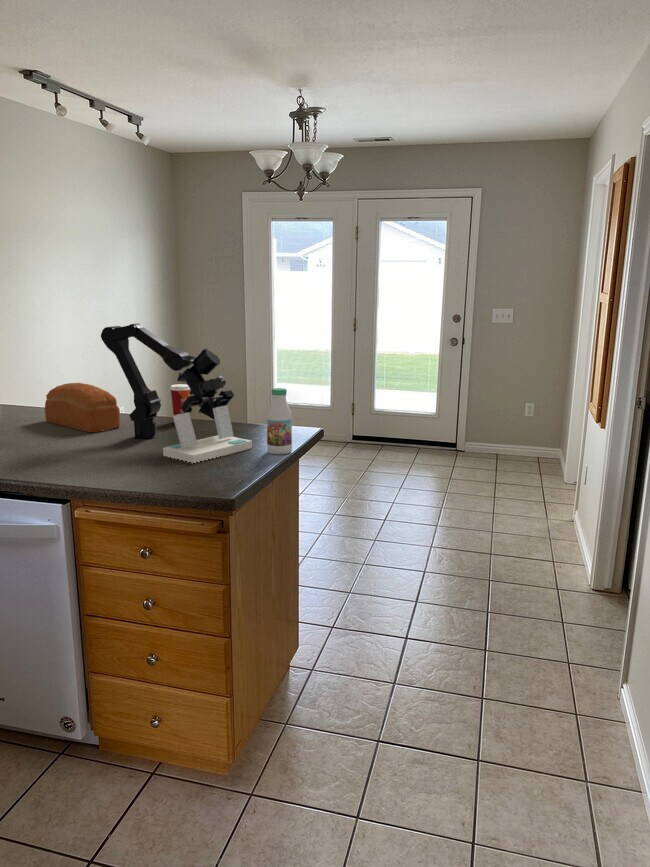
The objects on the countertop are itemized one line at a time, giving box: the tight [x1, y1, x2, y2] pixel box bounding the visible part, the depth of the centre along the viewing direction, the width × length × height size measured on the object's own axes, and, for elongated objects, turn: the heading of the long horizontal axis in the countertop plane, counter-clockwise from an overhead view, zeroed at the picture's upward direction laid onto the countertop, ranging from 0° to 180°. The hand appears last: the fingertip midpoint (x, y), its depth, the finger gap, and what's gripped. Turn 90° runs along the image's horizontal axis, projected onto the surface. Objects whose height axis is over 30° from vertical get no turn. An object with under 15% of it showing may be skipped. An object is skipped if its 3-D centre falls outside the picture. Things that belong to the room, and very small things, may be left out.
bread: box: [44, 382, 121, 433], centre depth 241 cm, size 14×33×16 cm, turn 51°
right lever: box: [213, 404, 235, 439], centre depth 208 cm, size 2×5×10 cm, turn 141°
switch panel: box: [162, 434, 253, 464], centre depth 204 cm, size 14×24×3 cm, turn 141°
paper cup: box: [169, 383, 191, 416], centre depth 246 cm, size 8×8×14 cm
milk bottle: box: [266, 387, 293, 456], centre depth 202 cm, size 8×8×20 cm
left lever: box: [172, 413, 198, 448], centre depth 197 cm, size 2×5×10 cm, turn 141°
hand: (221, 421), depth 209 cm, fingers closed, pressing on right lever
